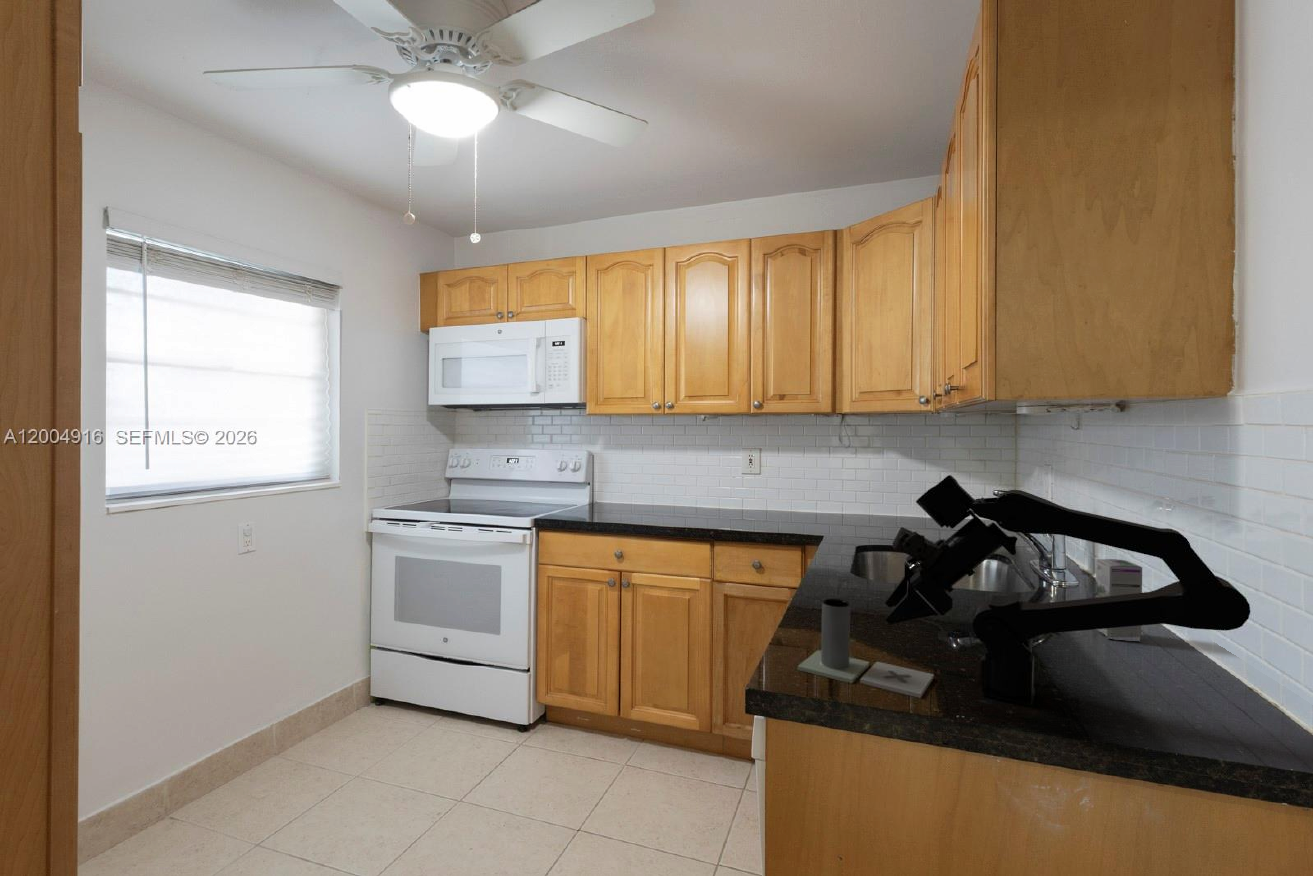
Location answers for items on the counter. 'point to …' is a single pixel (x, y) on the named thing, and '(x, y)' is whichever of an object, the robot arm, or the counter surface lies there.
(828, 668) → the pad
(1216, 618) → the robot arm
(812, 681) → the counter surface
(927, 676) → the pad
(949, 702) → the counter surface
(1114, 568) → the syrup box
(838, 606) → the grey cylinder
